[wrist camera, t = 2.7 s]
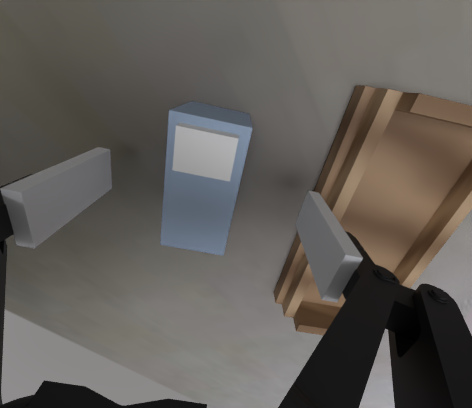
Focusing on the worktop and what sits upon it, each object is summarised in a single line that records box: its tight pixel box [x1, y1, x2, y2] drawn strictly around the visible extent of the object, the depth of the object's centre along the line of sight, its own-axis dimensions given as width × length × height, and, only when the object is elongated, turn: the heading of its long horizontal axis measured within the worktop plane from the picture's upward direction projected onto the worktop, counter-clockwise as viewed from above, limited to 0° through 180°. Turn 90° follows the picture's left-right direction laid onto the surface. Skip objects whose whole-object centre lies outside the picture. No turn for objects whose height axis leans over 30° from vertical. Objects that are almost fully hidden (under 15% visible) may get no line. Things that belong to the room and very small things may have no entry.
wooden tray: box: [274, 86, 472, 335], centre depth 21 cm, size 22×12×4 cm, turn 168°
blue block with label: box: [160, 101, 252, 255], centre depth 17 cm, size 9×4×8 cm, turn 168°
